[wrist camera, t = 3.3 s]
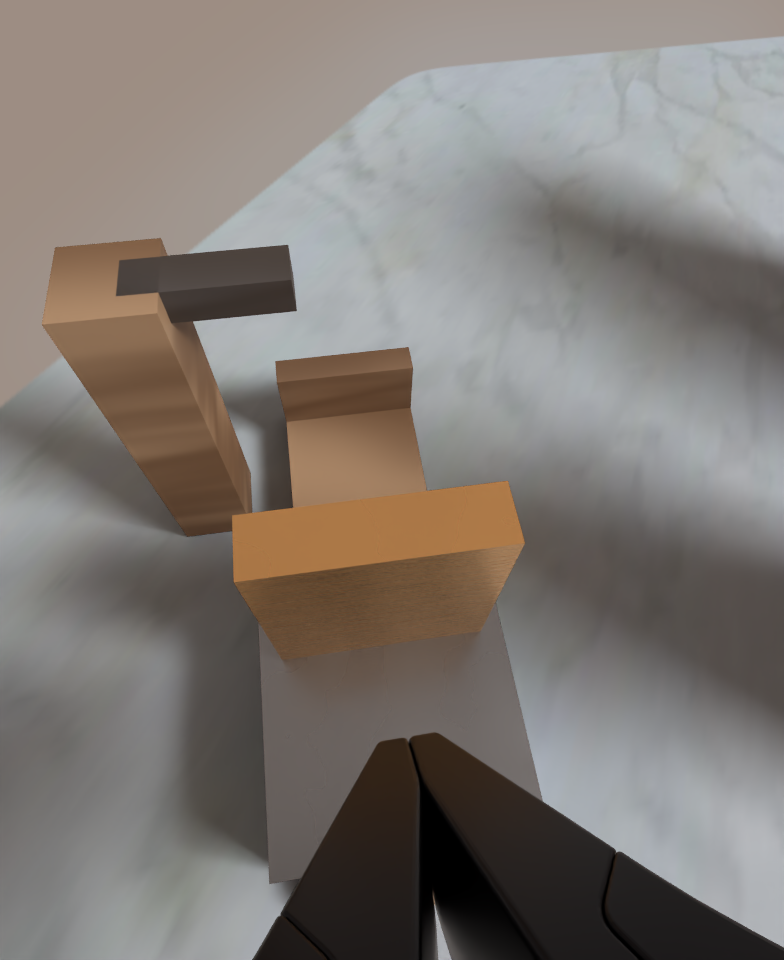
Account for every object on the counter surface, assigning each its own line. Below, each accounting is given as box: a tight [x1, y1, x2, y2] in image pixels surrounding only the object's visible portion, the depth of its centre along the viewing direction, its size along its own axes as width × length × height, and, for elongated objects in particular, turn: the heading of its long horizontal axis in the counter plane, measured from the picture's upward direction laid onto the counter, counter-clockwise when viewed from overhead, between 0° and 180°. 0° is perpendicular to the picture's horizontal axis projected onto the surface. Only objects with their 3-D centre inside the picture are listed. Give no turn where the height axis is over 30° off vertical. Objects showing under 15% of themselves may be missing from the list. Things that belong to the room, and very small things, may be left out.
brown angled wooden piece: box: [42, 238, 435, 904], centre depth 17 cm, size 18×9×12 cm, turn 8°
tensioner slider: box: [232, 481, 543, 884], centre depth 16 cm, size 7×7×10 cm
